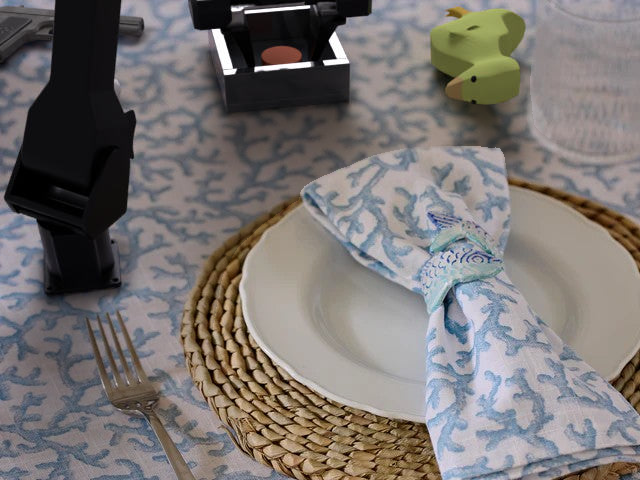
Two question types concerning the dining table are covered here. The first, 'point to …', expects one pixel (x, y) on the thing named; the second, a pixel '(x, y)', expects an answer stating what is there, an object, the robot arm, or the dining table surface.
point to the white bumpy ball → (117, 88)
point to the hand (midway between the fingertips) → (282, 73)
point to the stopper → (280, 56)
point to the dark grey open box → (279, 80)
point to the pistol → (43, 27)
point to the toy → (479, 54)
